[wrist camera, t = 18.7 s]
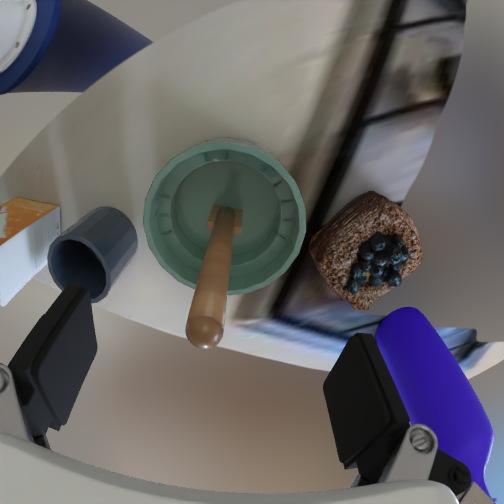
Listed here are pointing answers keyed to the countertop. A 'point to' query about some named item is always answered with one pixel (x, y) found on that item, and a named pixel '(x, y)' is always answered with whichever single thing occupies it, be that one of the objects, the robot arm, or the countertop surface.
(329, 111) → the countertop surface
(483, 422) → the bottle
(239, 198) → the bowl
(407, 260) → the pastry
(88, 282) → the crock
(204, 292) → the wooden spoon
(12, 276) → the small box
